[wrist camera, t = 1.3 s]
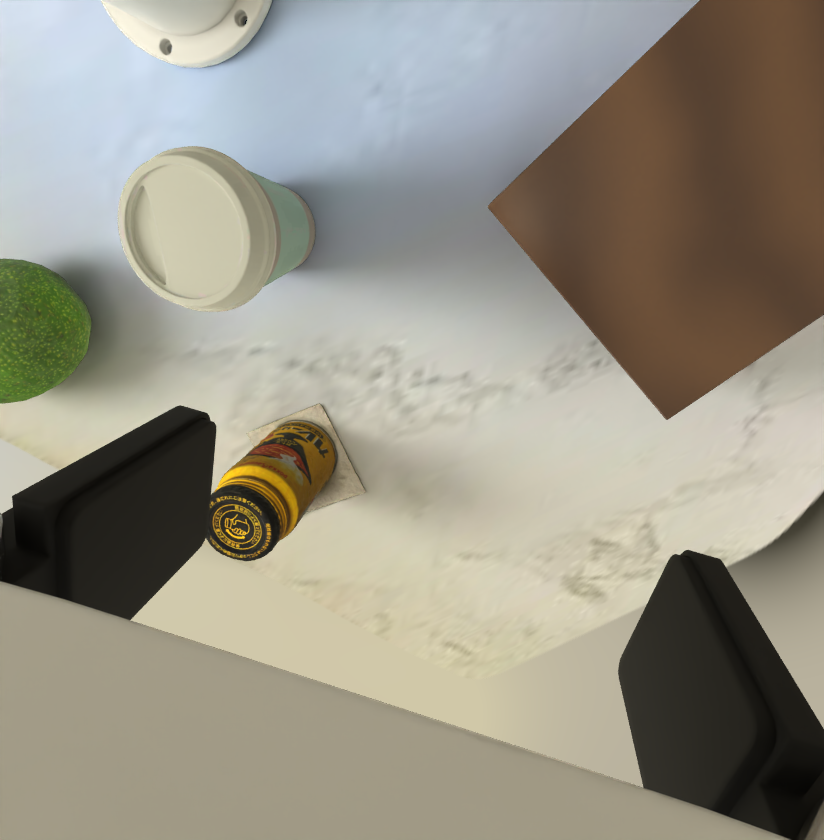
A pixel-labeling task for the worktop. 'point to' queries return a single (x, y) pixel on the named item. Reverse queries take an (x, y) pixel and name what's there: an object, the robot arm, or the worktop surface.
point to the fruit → (38, 330)
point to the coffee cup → (210, 229)
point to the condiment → (279, 484)
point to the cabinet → (690, 199)
